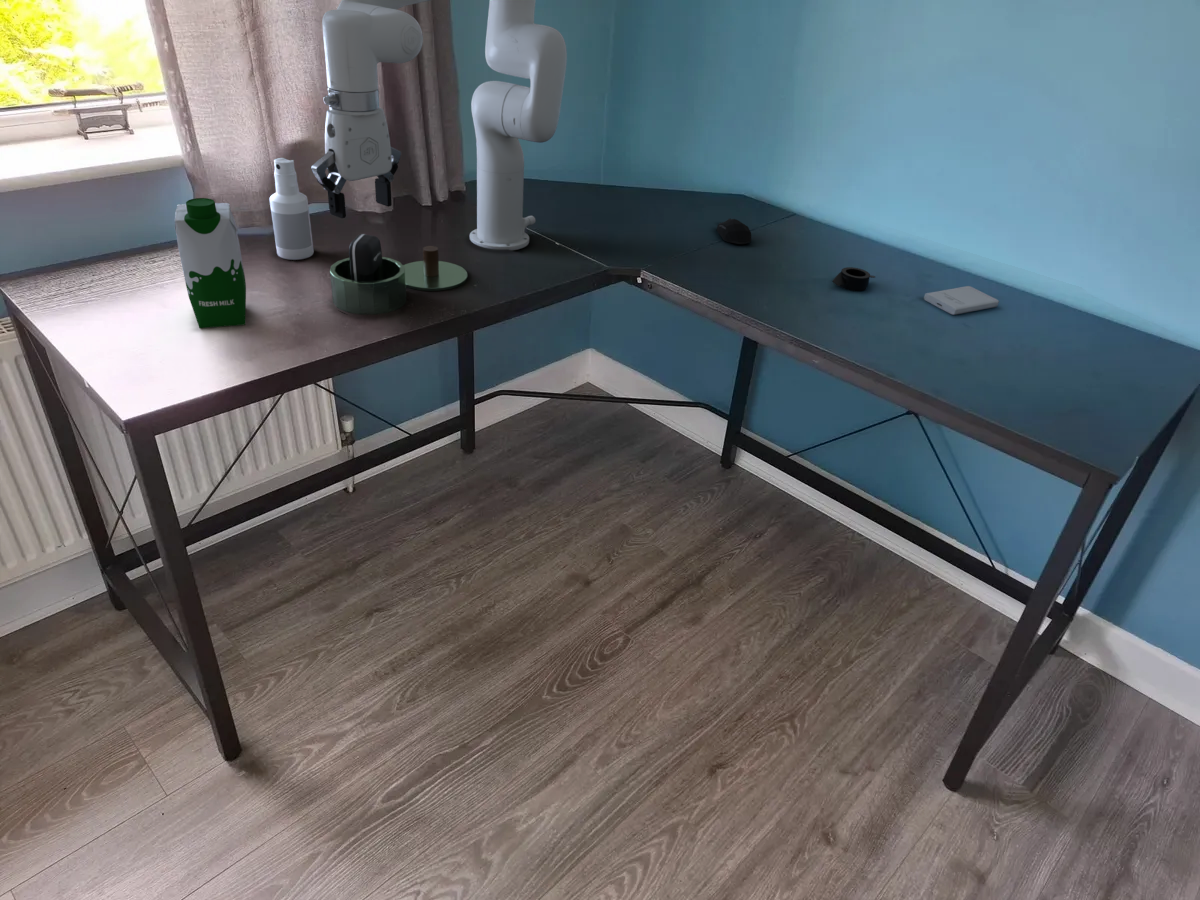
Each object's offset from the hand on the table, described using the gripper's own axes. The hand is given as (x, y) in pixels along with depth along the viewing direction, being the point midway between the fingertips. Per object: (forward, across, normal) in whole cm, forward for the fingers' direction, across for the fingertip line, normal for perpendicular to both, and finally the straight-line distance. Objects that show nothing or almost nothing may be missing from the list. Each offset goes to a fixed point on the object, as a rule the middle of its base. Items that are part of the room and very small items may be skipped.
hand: (361, 210), depth 138 cm
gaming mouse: (+16, +84, -28) cm, 90 cm away
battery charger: (+17, +1, 0) cm, 17 cm away
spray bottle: (+17, +6, +27) cm, 32 cm away
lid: (+16, +16, 0) cm, 22 cm away
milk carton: (+17, -20, +12) cm, 29 cm away
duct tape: (+16, +76, -61) cm, 98 cm away
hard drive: (+16, +84, -81) cm, 117 cm away
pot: (+17, +1, 0) cm, 17 cm away
